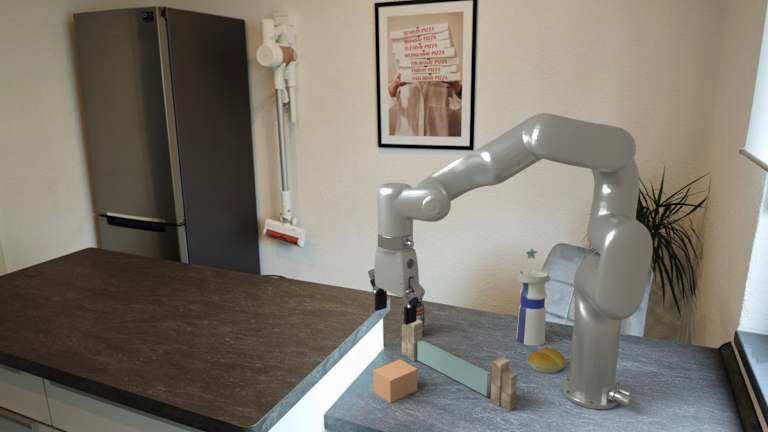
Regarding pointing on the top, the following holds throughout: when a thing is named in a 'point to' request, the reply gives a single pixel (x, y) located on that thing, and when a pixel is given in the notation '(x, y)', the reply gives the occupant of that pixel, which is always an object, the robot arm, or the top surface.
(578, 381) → the robot arm
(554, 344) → the top surface
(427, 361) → the pale green flat bar
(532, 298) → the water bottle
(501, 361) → the wooden block fence
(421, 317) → the supplement bottle
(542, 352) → the bread roll
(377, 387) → the block
